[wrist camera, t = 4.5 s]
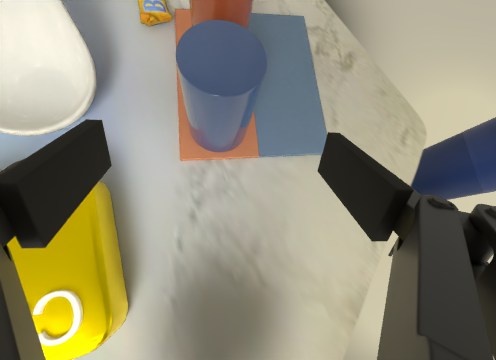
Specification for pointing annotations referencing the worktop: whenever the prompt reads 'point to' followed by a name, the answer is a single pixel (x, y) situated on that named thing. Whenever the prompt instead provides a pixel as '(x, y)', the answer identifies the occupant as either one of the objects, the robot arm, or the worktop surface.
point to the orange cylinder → (221, 11)
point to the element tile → (76, 280)
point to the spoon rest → (42, 68)
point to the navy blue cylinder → (220, 81)
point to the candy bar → (153, 12)
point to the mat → (270, 95)
